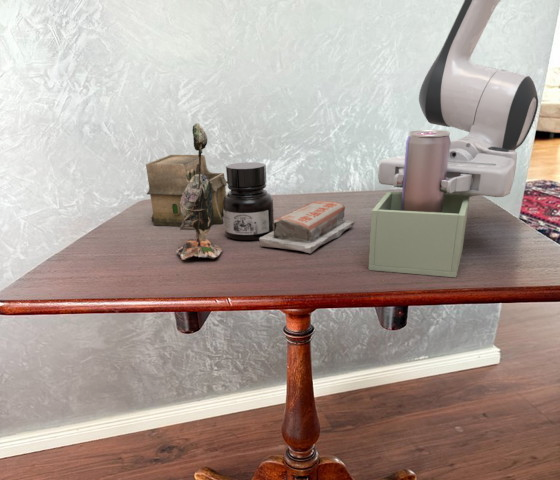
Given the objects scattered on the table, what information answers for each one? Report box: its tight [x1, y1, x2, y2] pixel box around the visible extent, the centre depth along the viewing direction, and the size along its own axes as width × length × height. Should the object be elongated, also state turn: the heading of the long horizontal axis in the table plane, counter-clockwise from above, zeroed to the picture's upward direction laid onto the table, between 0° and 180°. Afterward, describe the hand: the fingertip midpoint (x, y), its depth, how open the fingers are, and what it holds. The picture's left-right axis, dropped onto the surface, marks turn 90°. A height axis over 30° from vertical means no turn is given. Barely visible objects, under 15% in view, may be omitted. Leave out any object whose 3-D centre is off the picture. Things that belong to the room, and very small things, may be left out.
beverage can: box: [401, 129, 451, 213], centre depth 79 cm, size 6×6×15 cm
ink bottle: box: [223, 161, 275, 241], centre depth 96 cm, size 10×9×12 cm
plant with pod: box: [175, 122, 224, 261], centre depth 86 cm, size 8×11×20 cm
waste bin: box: [368, 191, 471, 279], centre depth 82 cm, size 13×13×9 cm
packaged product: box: [258, 200, 356, 254], centre depth 95 cm, size 18×5×10 cm
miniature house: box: [145, 154, 228, 231], centre depth 107 cm, size 15×14×11 cm
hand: (421, 184), depth 78 cm, fingers closed on beverage can, 6 cm apart
